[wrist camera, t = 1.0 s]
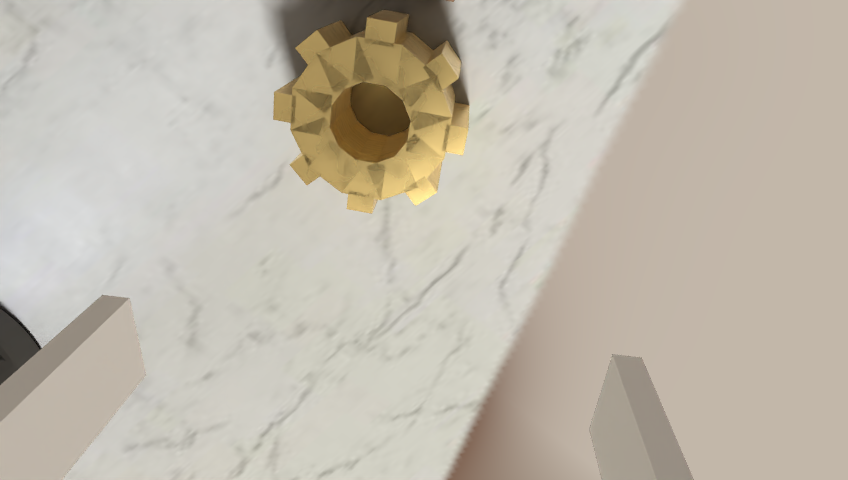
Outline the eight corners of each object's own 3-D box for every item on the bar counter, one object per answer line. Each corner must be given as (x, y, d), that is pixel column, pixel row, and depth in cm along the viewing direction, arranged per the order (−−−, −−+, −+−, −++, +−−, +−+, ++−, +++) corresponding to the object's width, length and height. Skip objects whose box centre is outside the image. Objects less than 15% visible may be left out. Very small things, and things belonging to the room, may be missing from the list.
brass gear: (298, 164, 33) (271, 194, 29) (307, -5, 29) (277, 0, 24) (451, 192, 33) (447, 227, 29) (485, 28, 29) (486, 39, 24)
